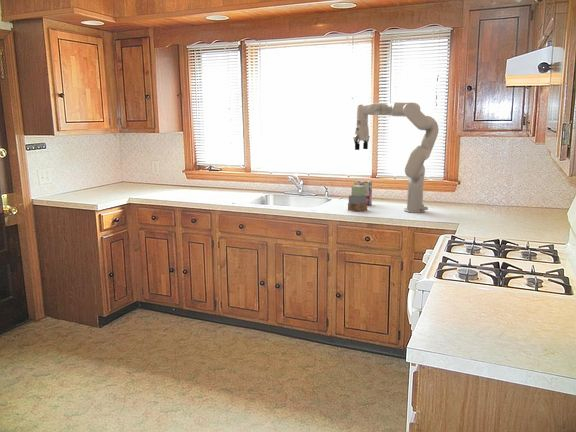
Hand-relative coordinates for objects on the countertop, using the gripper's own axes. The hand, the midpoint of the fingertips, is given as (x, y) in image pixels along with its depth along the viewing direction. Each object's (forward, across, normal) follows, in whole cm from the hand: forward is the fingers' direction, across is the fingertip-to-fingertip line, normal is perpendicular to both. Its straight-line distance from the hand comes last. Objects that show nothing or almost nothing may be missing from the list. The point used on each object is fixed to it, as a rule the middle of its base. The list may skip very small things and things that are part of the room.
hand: (361, 149), depth 334 cm
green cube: (+29, -12, -6) cm, 31 cm away
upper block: (+34, -12, -6) cm, 36 cm away
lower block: (+39, -12, -6) cm, 41 cm away
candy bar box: (+38, +8, +3) cm, 39 cm away
